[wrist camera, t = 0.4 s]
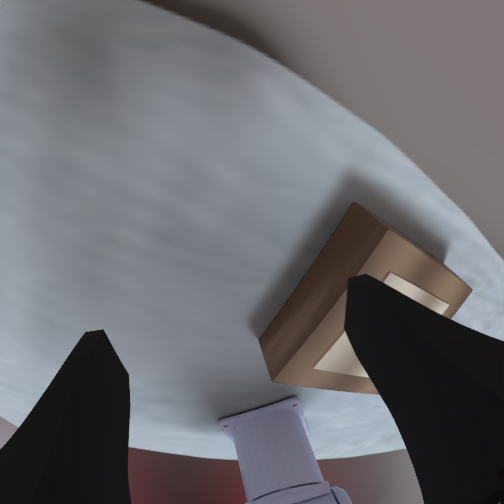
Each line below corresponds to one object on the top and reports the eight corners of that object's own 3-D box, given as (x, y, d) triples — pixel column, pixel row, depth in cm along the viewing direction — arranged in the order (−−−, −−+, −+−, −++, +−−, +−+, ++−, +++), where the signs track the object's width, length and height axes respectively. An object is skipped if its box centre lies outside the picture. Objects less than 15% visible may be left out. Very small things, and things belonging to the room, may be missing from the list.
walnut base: (444, 264, 24) (474, 290, 20) (363, 363, 28) (382, 395, 24) (353, 201, 19) (390, 230, 16) (258, 340, 23) (272, 383, 20)
